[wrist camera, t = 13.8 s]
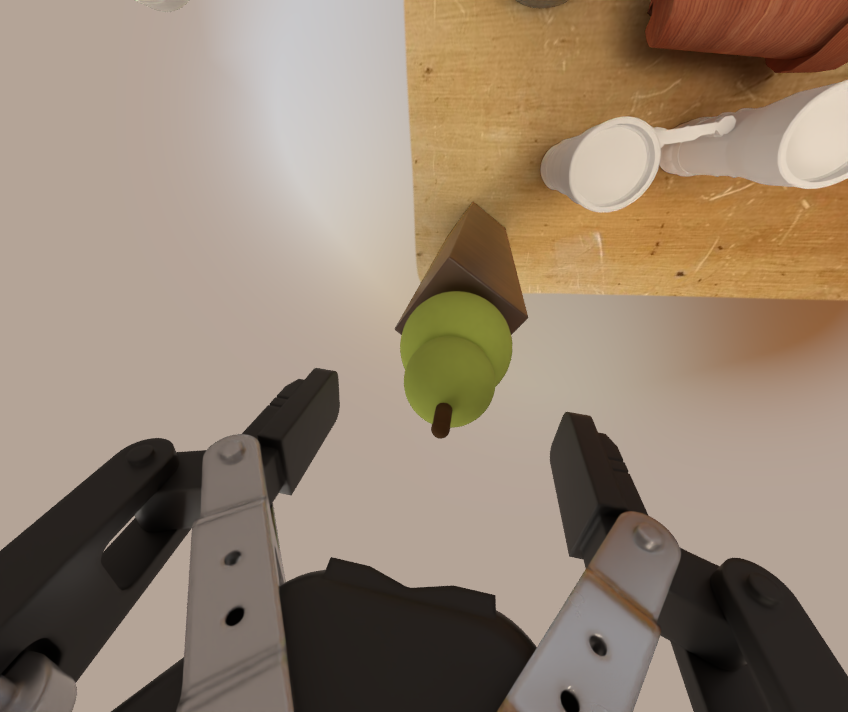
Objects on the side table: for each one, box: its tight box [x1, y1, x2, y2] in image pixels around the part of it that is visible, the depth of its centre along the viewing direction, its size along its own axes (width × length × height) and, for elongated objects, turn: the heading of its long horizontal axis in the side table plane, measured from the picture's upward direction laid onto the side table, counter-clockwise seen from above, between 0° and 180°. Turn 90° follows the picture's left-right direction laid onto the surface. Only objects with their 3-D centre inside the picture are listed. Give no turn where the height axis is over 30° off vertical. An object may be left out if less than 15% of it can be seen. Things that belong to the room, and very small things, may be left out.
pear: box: [400, 291, 512, 438], centre depth 14 cm, size 5×5×9 cm
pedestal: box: [395, 202, 528, 335], centre depth 30 cm, size 5×5×28 cm
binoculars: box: [540, 80, 848, 212], centre depth 28 cm, size 17×5×18 cm, turn 98°
